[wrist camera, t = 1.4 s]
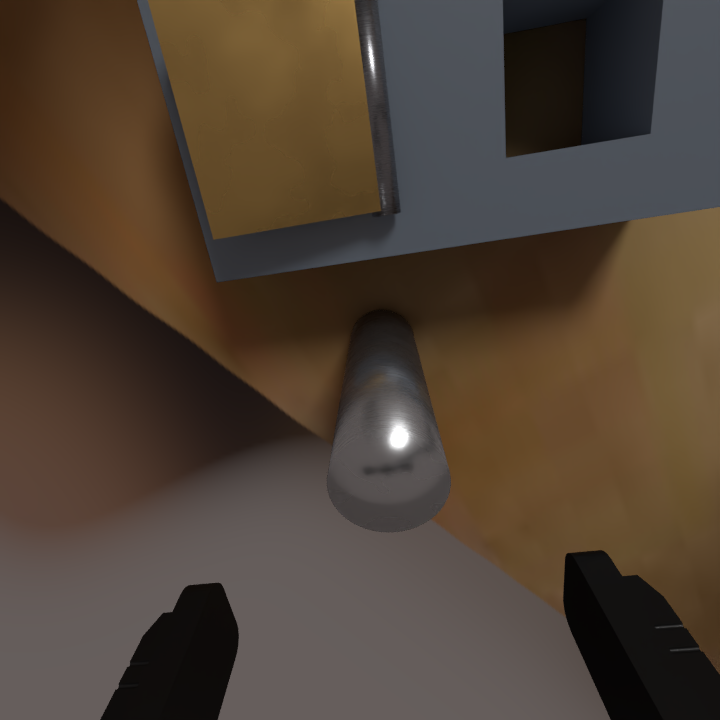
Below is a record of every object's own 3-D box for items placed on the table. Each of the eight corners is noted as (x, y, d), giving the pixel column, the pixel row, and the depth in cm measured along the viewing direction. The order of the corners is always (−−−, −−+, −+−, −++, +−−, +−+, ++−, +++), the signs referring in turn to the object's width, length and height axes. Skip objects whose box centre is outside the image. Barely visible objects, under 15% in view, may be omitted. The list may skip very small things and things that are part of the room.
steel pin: (410, 305, 26) (445, 424, 13) (416, 364, 27) (454, 526, 14) (345, 314, 26) (316, 439, 13) (355, 372, 27) (338, 537, 14)
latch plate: (368, -35, 15) (375, -55, 14) (396, 212, 18) (404, 212, 17) (149, -12, 14) (138, -31, 13) (218, 242, 17) (214, 245, 16)
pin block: (664, -85, 18) (789, -203, 13) (638, 202, 23) (722, 206, 17) (191, 15, 20) (123, -50, 15) (252, 261, 25) (216, 282, 19)
